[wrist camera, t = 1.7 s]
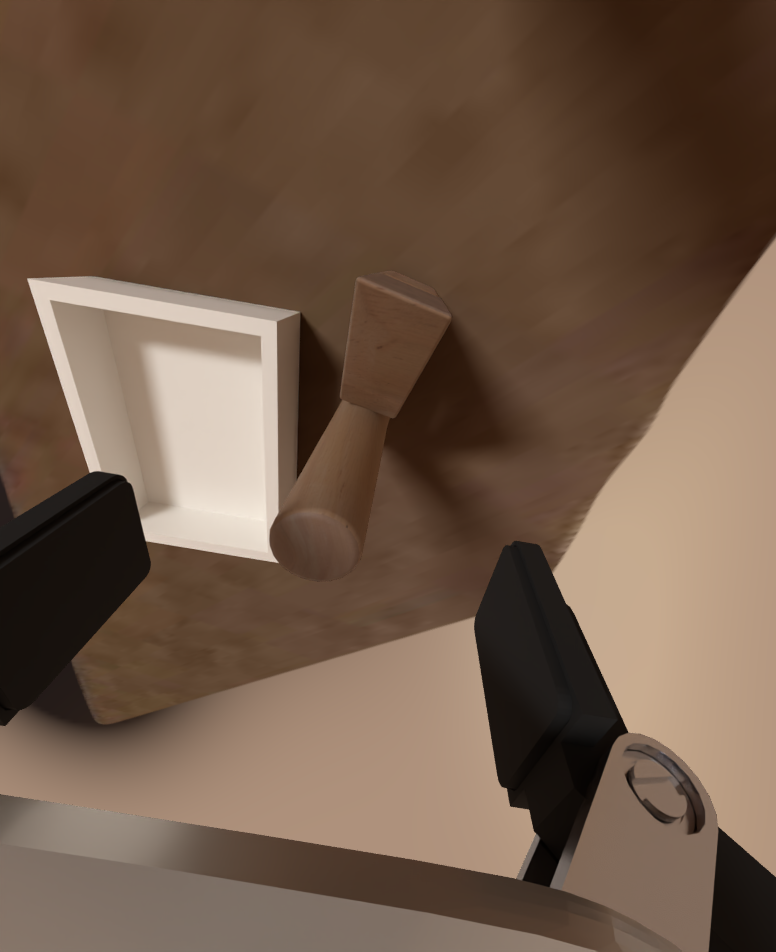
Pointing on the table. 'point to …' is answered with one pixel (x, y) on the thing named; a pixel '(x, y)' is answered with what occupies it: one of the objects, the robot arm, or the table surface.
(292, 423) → the tray
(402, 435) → the table surface
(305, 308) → the table surface
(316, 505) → the brown rod with wedge
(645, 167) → the table surface
